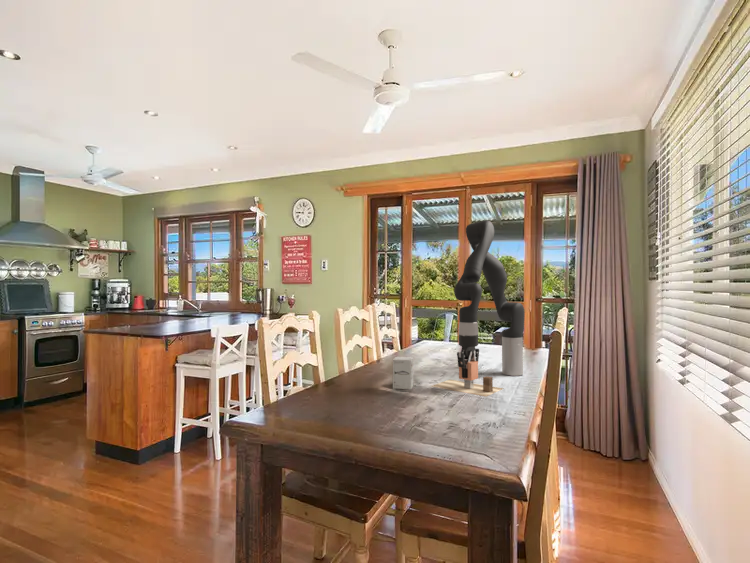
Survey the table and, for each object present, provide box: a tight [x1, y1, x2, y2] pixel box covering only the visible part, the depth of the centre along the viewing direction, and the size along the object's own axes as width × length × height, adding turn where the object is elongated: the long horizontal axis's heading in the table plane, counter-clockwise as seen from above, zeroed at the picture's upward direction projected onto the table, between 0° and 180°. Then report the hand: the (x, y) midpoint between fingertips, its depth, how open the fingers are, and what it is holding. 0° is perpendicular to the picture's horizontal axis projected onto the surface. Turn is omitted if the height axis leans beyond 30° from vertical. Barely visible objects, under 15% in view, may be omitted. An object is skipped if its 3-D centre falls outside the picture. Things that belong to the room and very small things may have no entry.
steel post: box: [463, 379, 474, 389], centre depth 163 cm, size 3×3×5 cm
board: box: [431, 379, 504, 398], centre depth 163 cm, size 15×24×1 cm, turn 49°
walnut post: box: [482, 376, 494, 392], centre depth 157 cm, size 3×3×5 cm
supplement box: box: [392, 356, 414, 393], centre depth 165 cm, size 7×7×13 cm
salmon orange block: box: [458, 360, 479, 381], centre depth 163 cm, size 5×5×7 cm
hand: (468, 376), depth 163 cm, fingers closed on salmon orange block, 5 cm apart
